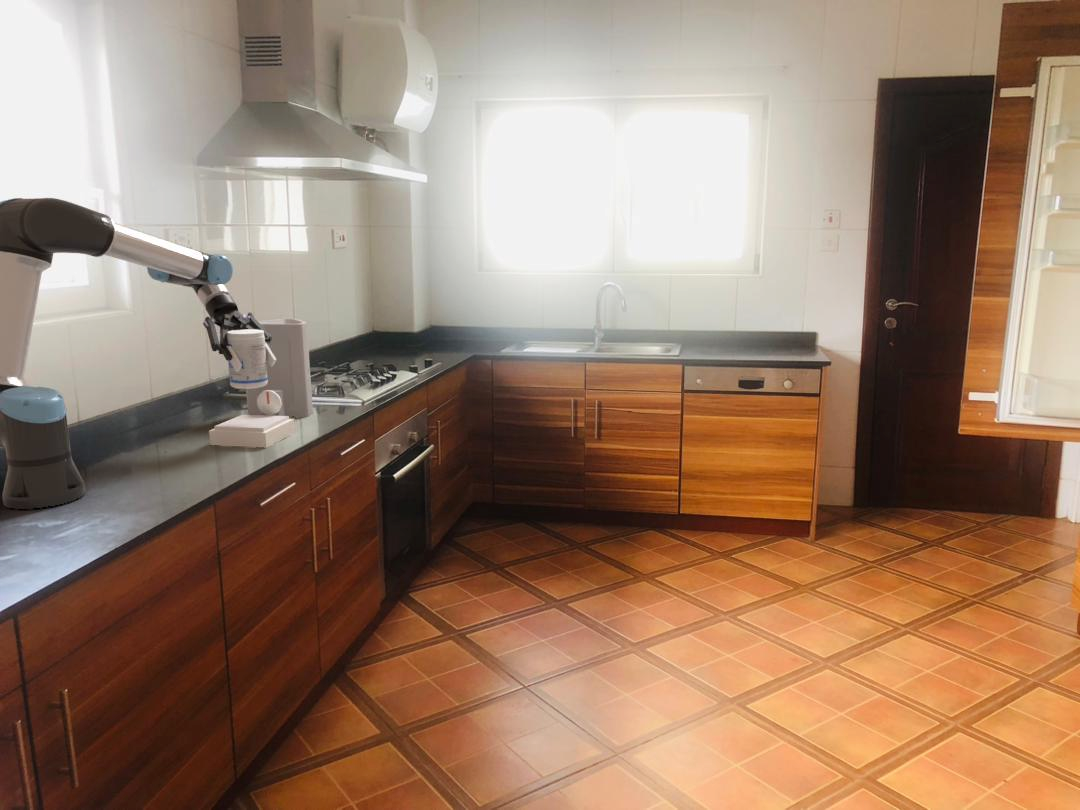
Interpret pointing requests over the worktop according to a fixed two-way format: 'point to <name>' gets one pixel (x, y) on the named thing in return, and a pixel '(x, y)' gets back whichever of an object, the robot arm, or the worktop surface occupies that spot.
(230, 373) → the supplement tub
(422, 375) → the worktop surface
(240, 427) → the kitchen scale
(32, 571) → the worktop surface
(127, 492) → the worktop surface
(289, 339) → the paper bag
